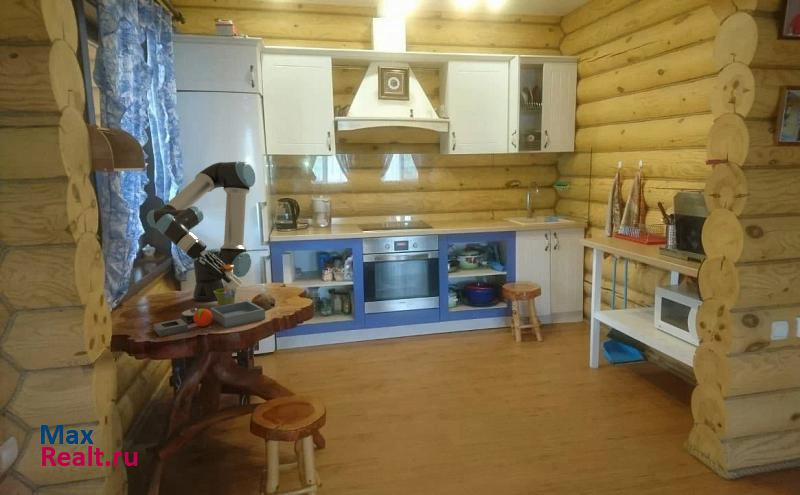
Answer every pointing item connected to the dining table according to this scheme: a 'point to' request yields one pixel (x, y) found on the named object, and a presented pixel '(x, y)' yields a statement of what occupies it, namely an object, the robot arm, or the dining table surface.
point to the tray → (237, 313)
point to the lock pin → (228, 290)
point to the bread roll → (264, 301)
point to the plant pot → (220, 297)
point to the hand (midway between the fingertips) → (238, 285)
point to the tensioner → (175, 324)
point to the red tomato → (203, 317)
